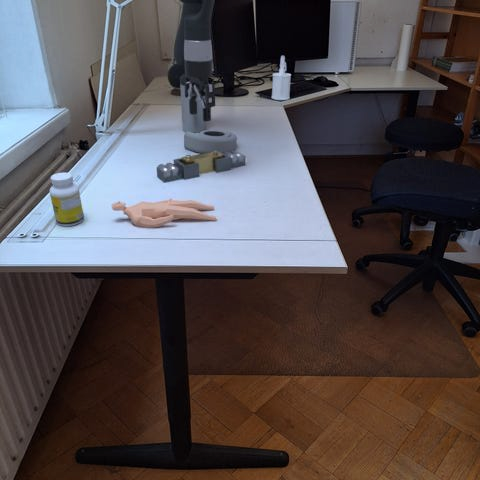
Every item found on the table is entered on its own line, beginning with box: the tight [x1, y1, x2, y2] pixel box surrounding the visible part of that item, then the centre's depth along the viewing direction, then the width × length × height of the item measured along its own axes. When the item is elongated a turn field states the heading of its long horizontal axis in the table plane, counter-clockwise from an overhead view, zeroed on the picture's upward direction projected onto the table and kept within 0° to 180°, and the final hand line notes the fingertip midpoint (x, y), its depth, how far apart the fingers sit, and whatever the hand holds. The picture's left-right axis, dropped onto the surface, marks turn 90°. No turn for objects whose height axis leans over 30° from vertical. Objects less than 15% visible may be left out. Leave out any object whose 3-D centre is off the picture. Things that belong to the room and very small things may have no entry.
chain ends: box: [156, 149, 246, 183], centre depth 135 cm, size 7×28×4 cm, turn 122°
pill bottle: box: [49, 172, 85, 227], centre depth 104 cm, size 6×6×12 cm
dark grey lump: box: [167, 63, 185, 97], centre depth 227 cm, size 13×13×15 cm
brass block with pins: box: [181, 150, 223, 175], centre depth 135 cm, size 4×12×6 cm, turn 119°
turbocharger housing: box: [183, 129, 238, 154], centre depth 154 cm, size 17×6×15 cm
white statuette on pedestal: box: [271, 55, 292, 101], centre depth 219 cm, size 10×9×20 cm
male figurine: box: [111, 198, 217, 229], centre depth 108 cm, size 11×5×25 cm
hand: (199, 117), depth 128 cm, fingers open, 8 cm apart
